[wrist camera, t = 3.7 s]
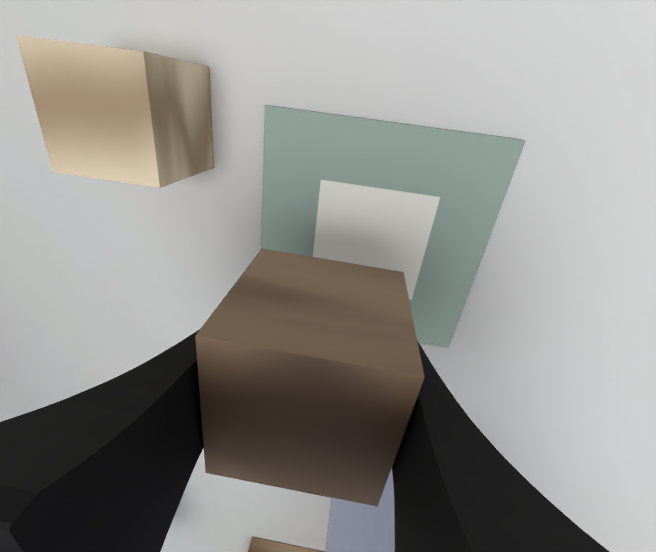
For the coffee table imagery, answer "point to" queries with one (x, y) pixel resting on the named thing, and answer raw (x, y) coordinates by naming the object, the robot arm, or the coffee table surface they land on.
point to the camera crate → (274, 546)
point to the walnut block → (309, 376)
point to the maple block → (120, 111)
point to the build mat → (387, 202)
